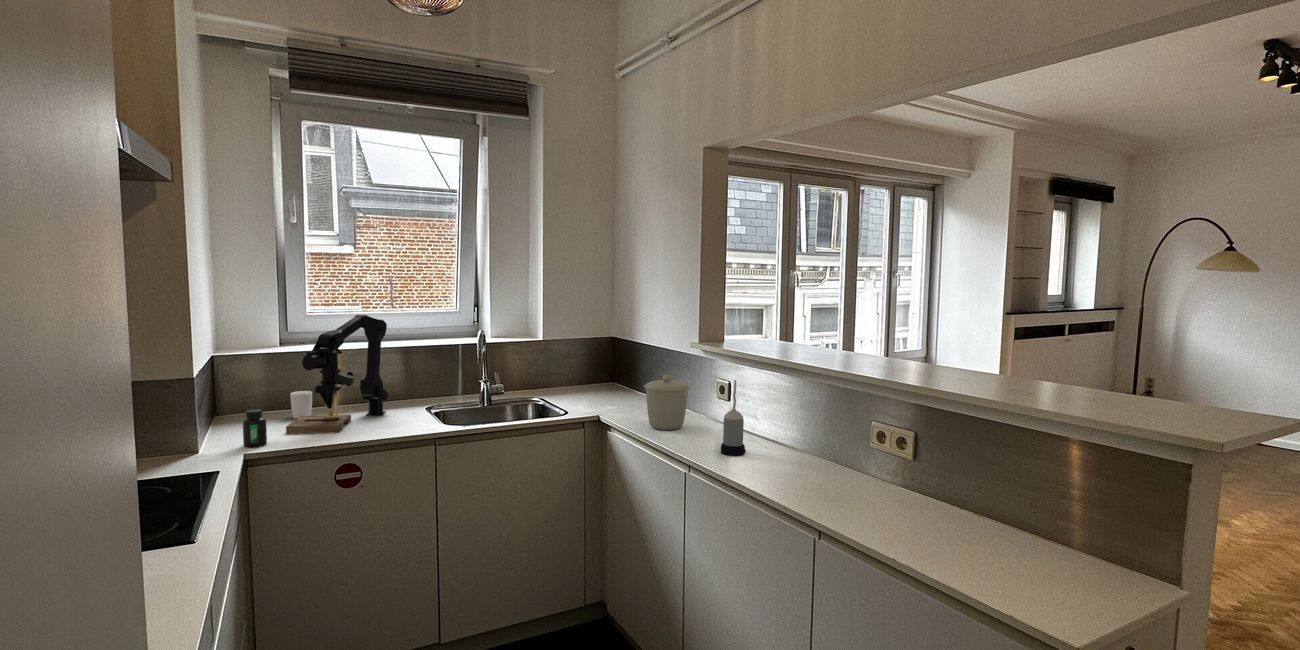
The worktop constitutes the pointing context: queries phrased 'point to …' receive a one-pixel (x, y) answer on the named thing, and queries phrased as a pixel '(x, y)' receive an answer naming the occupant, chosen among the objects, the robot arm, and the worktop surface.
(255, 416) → the supplement bottle
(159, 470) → the worktop surface
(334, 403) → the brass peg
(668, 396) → the canister
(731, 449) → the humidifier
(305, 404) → the white cup
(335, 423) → the keyhole plate
